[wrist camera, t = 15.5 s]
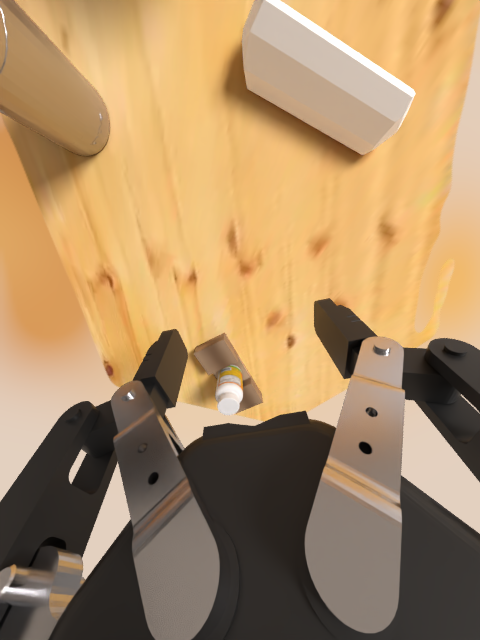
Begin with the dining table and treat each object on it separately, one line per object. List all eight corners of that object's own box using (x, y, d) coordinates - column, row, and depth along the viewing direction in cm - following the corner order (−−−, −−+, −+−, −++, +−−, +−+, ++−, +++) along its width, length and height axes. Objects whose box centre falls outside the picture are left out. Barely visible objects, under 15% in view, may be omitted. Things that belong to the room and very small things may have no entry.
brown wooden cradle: (235, 403, 49) (235, 413, 46) (196, 346, 43) (193, 353, 40) (261, 393, 48) (262, 402, 45) (224, 332, 42) (223, 339, 39)
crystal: (435, 70, 25) (263, -50, 22) (426, 111, 24) (242, -10, 20) (382, 131, 32) (247, 49, 29) (373, 165, 31) (230, 84, 27)
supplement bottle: (234, 387, 46) (234, 422, 37) (214, 377, 45) (208, 411, 36) (246, 370, 44) (249, 402, 35) (225, 359, 43) (222, 390, 34)
